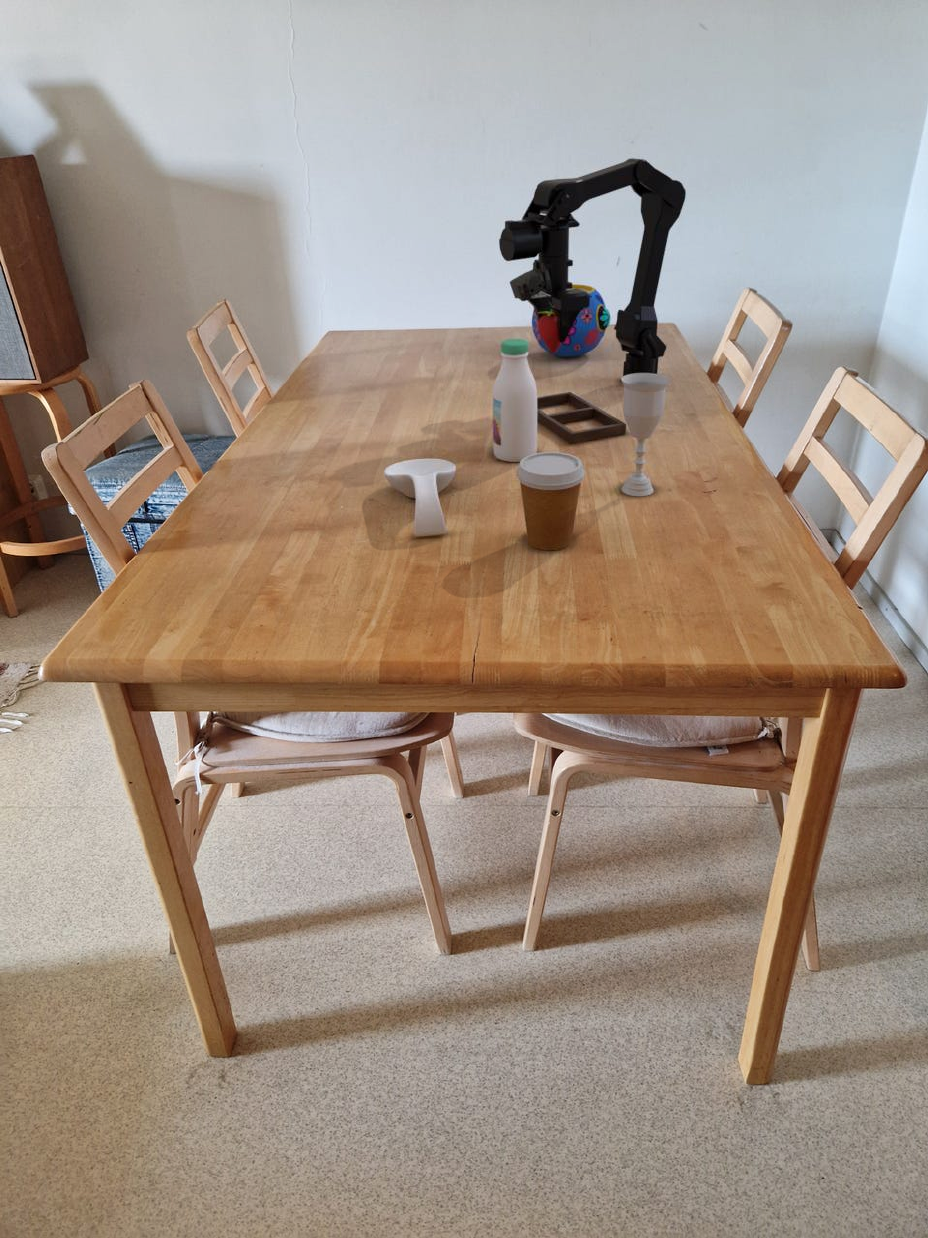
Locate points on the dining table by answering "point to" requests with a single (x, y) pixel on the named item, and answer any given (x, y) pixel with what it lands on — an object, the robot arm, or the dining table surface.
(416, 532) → the spoon rest
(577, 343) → the ceramic pot
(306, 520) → the dining table surface
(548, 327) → the strawberry
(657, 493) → the dining table surface
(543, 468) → the disposable coffee cup
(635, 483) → the chalice
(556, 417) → the brown divided wooden frame
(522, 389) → the milk bottle
